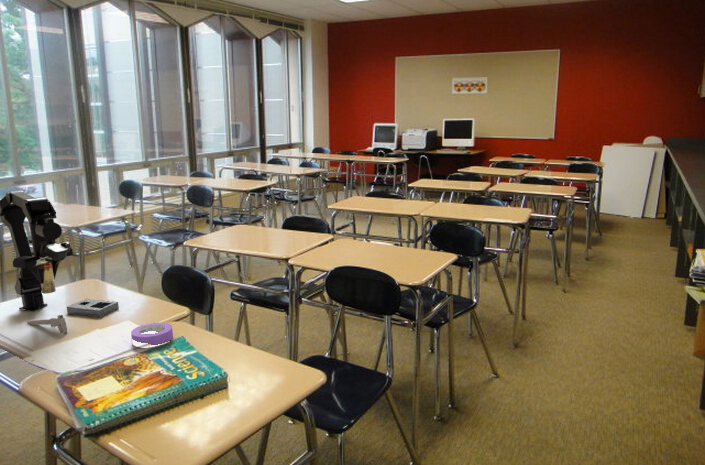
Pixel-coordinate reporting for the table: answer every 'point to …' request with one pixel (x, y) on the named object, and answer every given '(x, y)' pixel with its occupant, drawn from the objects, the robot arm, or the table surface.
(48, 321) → the caliper
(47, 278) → the tan cylindrical container
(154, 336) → the masking tape
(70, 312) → the grey flat block
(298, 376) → the table surface
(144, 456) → the table surface
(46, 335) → the table surface
